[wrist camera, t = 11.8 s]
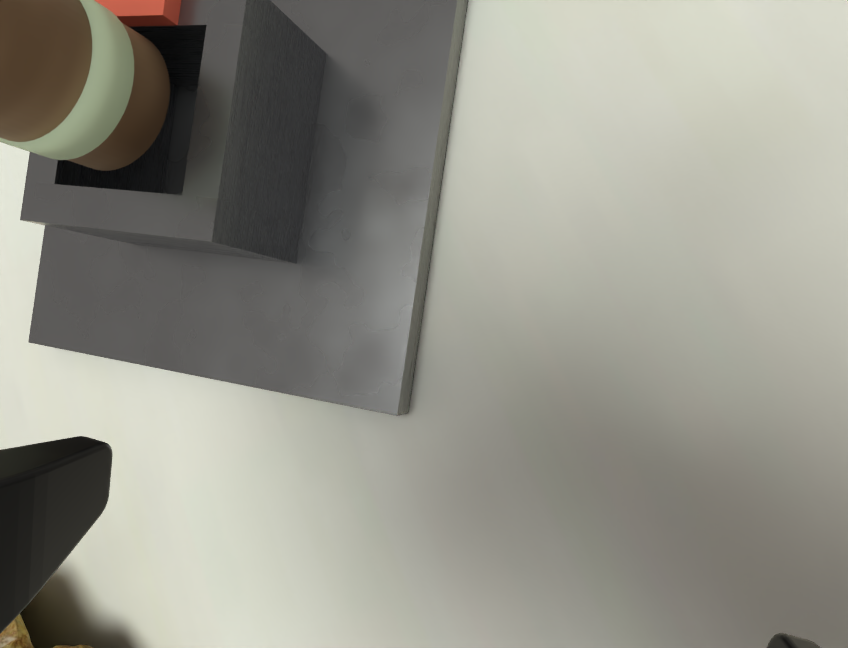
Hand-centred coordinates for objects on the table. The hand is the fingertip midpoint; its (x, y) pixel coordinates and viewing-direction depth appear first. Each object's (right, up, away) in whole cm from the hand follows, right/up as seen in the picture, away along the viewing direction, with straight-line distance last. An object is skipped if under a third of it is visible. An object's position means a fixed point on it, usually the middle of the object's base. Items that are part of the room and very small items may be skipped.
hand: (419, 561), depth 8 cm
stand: (-7, +9, +15) cm, 19 cm away
